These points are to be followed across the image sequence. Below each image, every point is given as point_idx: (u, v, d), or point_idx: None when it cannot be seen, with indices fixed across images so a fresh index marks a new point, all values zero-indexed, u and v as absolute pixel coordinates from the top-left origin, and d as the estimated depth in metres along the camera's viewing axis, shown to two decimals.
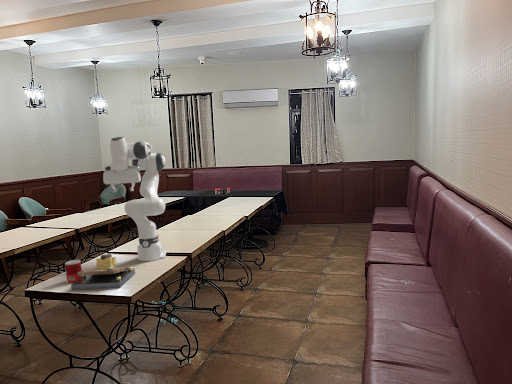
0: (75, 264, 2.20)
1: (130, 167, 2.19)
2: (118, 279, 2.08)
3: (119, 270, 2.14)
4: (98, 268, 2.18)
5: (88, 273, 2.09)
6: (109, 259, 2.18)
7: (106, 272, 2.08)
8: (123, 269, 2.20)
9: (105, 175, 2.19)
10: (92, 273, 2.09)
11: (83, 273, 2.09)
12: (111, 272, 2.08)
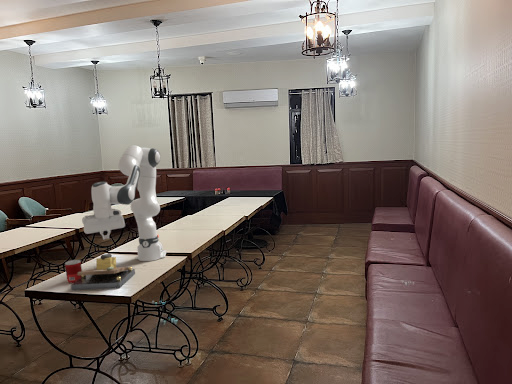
0: (75, 264, 2.20)
1: None
2: (118, 279, 2.08)
3: (119, 270, 2.14)
4: (98, 268, 2.18)
5: (88, 273, 2.09)
6: (109, 259, 2.18)
7: (106, 272, 2.08)
8: (123, 269, 2.20)
9: None
10: (92, 273, 2.09)
11: (83, 273, 2.09)
12: (111, 272, 2.08)
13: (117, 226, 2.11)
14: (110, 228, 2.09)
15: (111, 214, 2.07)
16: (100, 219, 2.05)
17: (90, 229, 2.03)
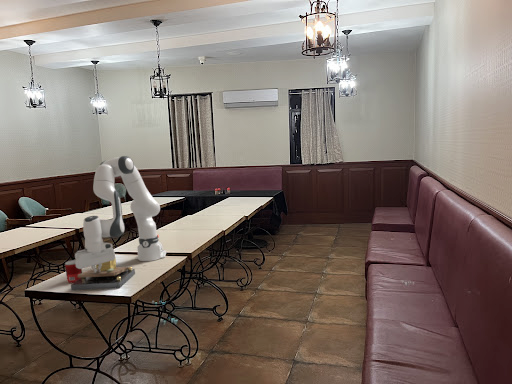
0: (75, 264, 2.20)
1: None
2: (118, 279, 2.08)
3: (119, 271, 2.14)
4: None
5: (88, 275, 2.09)
6: None
7: (106, 274, 2.08)
8: (123, 270, 2.20)
9: None
10: (92, 275, 2.09)
11: (83, 275, 2.09)
12: (111, 274, 2.08)
13: (108, 259, 2.13)
14: (102, 261, 2.11)
15: (104, 248, 2.09)
16: (93, 253, 2.07)
17: (83, 264, 2.04)
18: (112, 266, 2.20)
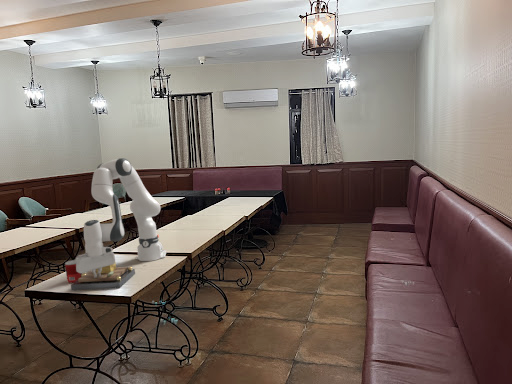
0: (75, 264, 2.20)
1: None
2: (118, 279, 2.08)
3: (119, 274, 2.14)
4: None
5: (89, 280, 2.09)
6: None
7: (106, 279, 2.08)
8: (123, 271, 2.20)
9: None
10: (93, 280, 2.09)
11: (83, 280, 2.09)
12: (111, 279, 2.08)
13: (108, 263, 2.14)
14: (102, 266, 2.11)
15: (104, 252, 2.10)
16: (93, 257, 2.07)
17: (84, 268, 2.04)
18: (112, 268, 2.20)
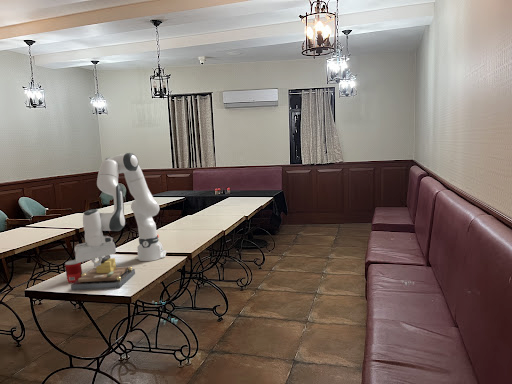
0: (75, 264, 2.20)
1: None
2: (118, 279, 2.08)
3: (119, 274, 2.14)
4: (98, 271, 2.18)
5: (89, 280, 2.09)
6: (108, 263, 2.17)
7: (106, 279, 2.08)
8: (123, 271, 2.20)
9: None
10: (93, 280, 2.09)
11: (83, 280, 2.09)
12: (112, 279, 2.08)
13: (109, 253, 2.13)
14: (102, 255, 2.10)
15: (103, 241, 2.09)
16: (92, 247, 2.06)
17: (82, 257, 2.04)
18: (112, 268, 2.20)
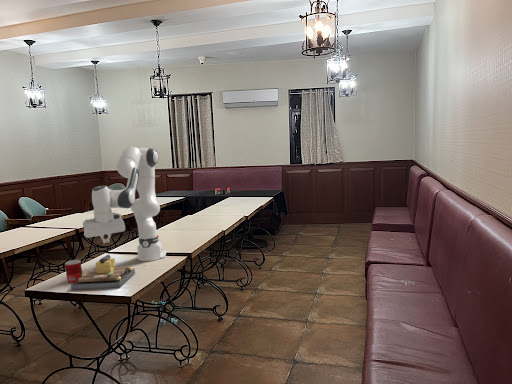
0: (75, 264, 2.20)
1: None
2: (118, 279, 2.08)
3: (119, 274, 2.14)
4: (98, 271, 2.18)
5: (89, 280, 2.09)
6: (108, 263, 2.17)
7: (106, 279, 2.08)
8: (123, 271, 2.20)
9: None
10: (93, 280, 2.09)
11: (83, 280, 2.09)
12: (112, 279, 2.08)
13: (117, 230, 2.11)
14: (110, 232, 2.09)
15: (111, 218, 2.07)
16: (100, 223, 2.05)
17: (90, 233, 2.03)
18: (112, 268, 2.20)
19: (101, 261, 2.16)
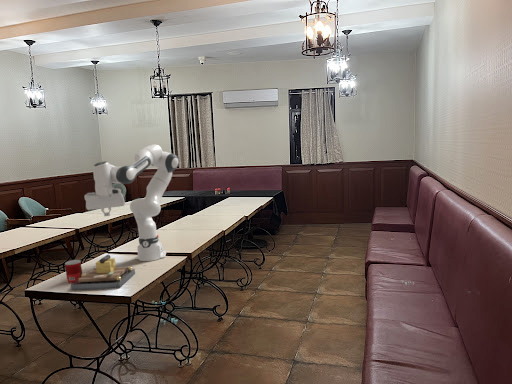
0: (75, 264, 2.20)
1: None
2: (118, 279, 2.08)
3: (119, 274, 2.14)
4: (98, 271, 2.18)
5: (89, 280, 2.09)
6: (108, 263, 2.17)
7: (106, 279, 2.08)
8: (123, 271, 2.20)
9: None
10: (93, 280, 2.09)
11: (83, 280, 2.09)
12: (112, 279, 2.08)
13: (117, 204, 2.21)
14: (110, 206, 2.20)
15: (110, 192, 2.17)
16: (100, 197, 2.17)
17: (90, 205, 2.17)
18: (112, 268, 2.20)
19: (101, 261, 2.16)
